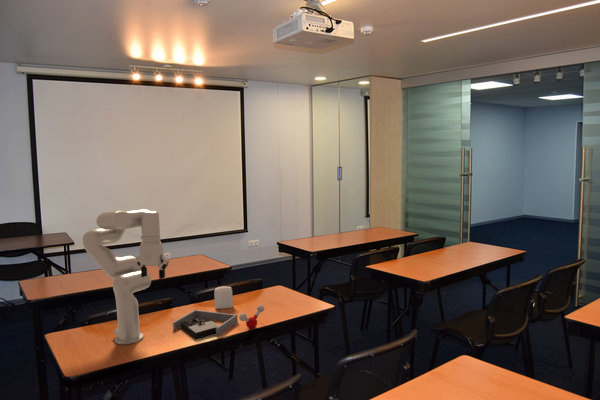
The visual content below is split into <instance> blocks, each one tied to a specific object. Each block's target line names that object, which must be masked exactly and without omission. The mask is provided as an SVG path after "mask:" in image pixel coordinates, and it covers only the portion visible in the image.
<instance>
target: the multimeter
mask: <svg viewBox="0 0 600 400" xmlns="http://www.w3.org/2000/svg"><path fill="white" fill-rule="evenodd" d="M218 326H220V325H219V324H217V323H216V322H214V321H213V320H209V319H208V318H206V317H205V316H203V317H199V318H195V319H191V320H187V321H183V322H181V327H180V329H181V330H182V329H183V331H184V332H185V333H186V332H187V334H188V335H189V336H190V337H191V338H193V339H194V340H196V341H197V340H201V339H204V338H207V337H210V336H216V328H217V327H218Z"/></svg>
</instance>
